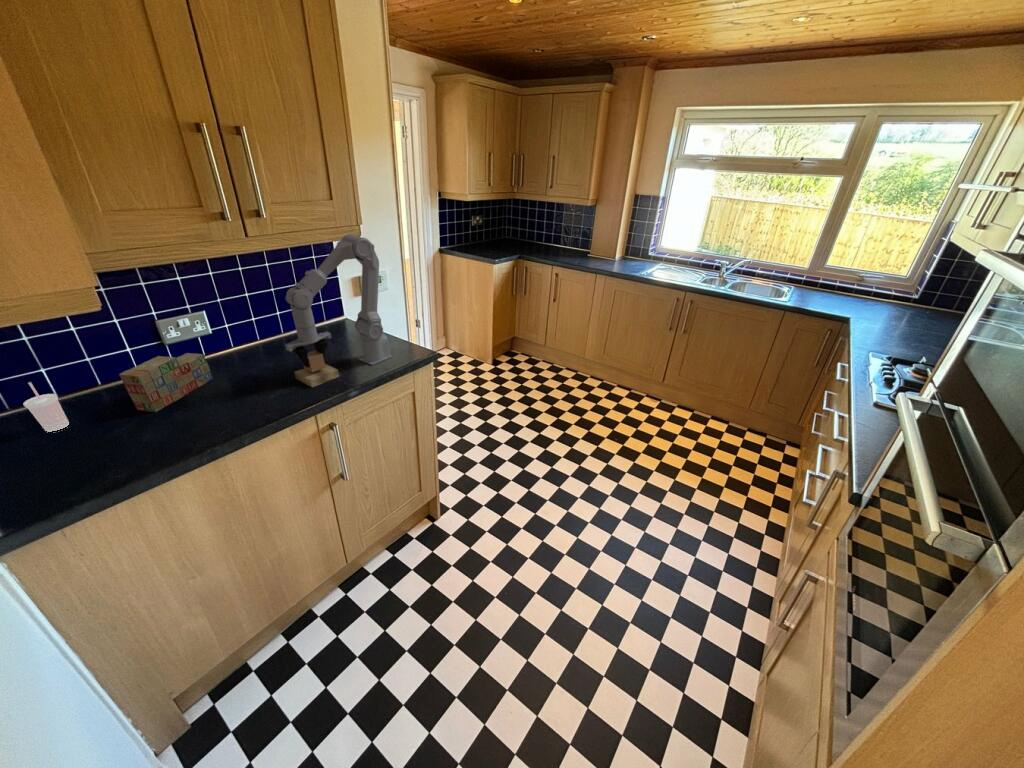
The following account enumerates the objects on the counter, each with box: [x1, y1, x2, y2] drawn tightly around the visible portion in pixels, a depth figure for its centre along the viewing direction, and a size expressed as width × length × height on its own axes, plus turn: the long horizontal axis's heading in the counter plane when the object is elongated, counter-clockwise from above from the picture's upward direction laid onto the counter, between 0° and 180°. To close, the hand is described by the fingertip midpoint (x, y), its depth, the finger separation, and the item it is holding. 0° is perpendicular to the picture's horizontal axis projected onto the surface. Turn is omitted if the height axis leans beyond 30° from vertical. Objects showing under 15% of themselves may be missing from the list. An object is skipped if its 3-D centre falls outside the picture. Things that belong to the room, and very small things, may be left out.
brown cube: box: [302, 349, 326, 372], centre depth 135 cm, size 5×5×5 cm
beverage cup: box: [22, 381, 70, 433], centre depth 106 cm, size 6×6×14 cm
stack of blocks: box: [118, 352, 214, 413], centre depth 123 cm, size 21×6×12 cm, turn 172°
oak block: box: [294, 363, 340, 388], centre depth 137 cm, size 10×10×3 cm
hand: (314, 363), depth 135 cm, fingers closed on brown cube, 5 cm apart
